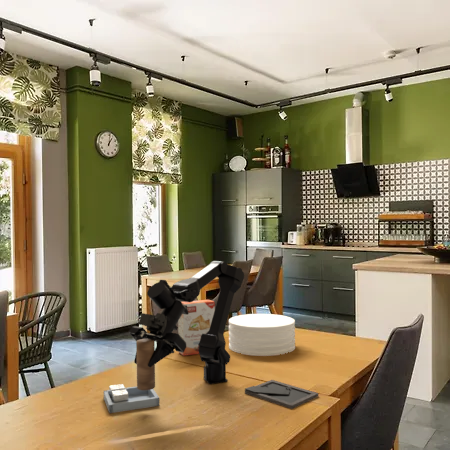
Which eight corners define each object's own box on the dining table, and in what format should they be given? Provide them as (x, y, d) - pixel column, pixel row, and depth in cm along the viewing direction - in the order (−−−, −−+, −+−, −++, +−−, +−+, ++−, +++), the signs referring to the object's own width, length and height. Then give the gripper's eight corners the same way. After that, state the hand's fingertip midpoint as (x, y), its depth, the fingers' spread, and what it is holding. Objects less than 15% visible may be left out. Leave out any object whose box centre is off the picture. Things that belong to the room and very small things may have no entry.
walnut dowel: (154, 383, 135) (153, 338, 135) (155, 389, 130) (155, 342, 130) (136, 384, 134) (135, 339, 134) (137, 391, 129) (136, 343, 129)
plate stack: (215, 349, 197) (215, 322, 196) (250, 336, 220) (250, 311, 220) (275, 360, 181) (274, 330, 181) (306, 344, 204) (306, 317, 204)
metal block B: (126, 403, 136) (125, 389, 136) (128, 408, 132) (128, 393, 132) (111, 405, 135) (111, 391, 135) (114, 410, 131) (113, 395, 131)
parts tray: (150, 394, 145) (150, 384, 145) (159, 408, 134) (159, 397, 134) (103, 400, 140) (103, 390, 140) (109, 416, 129) (109, 405, 129)
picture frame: (244, 395, 145) (291, 411, 133) (244, 388, 145) (291, 404, 133) (272, 384, 155) (318, 398, 142) (272, 378, 155) (318, 391, 142)
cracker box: (183, 356, 186) (183, 303, 186) (178, 353, 191) (177, 301, 191) (215, 352, 192) (215, 300, 192) (209, 348, 198) (208, 298, 198)
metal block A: (123, 397, 141) (123, 383, 141) (125, 401, 137) (125, 388, 137) (109, 399, 139) (109, 385, 139) (111, 403, 135) (111, 390, 135)
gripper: (132, 299, 141) (103, 344, 132) (178, 305, 129) (150, 354, 121) (152, 320, 147) (125, 364, 138) (197, 328, 136) (172, 376, 127)
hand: (142, 364), depth 131 cm, fingers closed on walnut dowel, 5 cm apart
